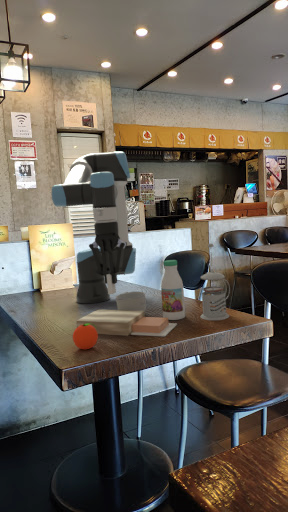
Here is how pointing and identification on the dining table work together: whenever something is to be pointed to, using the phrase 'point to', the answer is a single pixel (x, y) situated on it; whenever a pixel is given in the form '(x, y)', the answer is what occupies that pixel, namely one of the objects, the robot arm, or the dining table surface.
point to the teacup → (131, 301)
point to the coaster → (150, 324)
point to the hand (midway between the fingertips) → (112, 293)
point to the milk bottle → (172, 292)
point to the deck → (112, 321)
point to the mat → (162, 333)
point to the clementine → (85, 336)
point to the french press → (214, 297)
